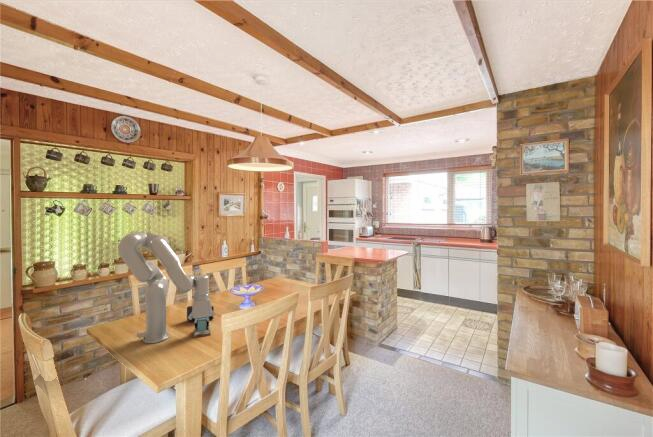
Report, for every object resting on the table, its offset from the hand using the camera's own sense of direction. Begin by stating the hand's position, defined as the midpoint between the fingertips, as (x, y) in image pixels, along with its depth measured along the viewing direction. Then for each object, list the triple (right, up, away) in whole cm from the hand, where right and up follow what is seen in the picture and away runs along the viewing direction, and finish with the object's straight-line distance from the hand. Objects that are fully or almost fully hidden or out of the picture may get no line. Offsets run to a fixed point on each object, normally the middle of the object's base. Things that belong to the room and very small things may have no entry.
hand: (201, 328), depth 166 cm
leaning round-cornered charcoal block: (-9, -2, +19) cm, 21 cm away
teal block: (0, -1, 0) cm, 1 cm away
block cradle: (0, -3, 0) cm, 3 cm away
